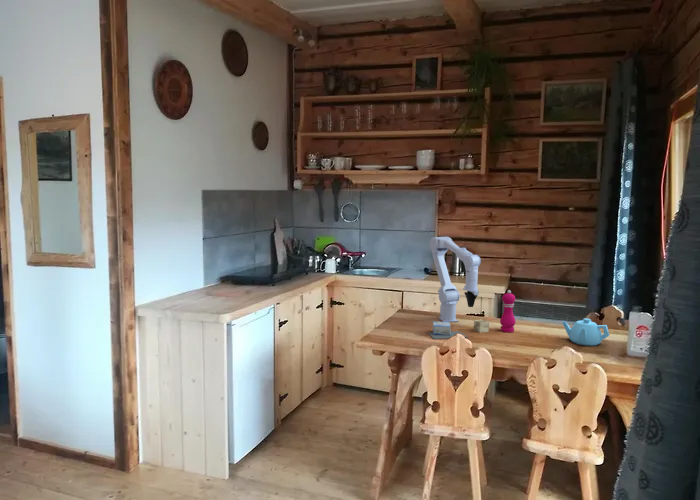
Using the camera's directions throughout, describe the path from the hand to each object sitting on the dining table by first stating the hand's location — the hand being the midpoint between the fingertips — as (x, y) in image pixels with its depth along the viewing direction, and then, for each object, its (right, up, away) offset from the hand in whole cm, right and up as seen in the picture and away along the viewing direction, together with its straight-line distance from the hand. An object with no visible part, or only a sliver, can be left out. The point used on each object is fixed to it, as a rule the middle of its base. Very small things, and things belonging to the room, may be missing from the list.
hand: (470, 306), depth 270 cm
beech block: (+4, -11, -5) cm, 13 cm away
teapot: (+47, -14, -22) cm, 54 cm away
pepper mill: (+17, -11, -4) cm, 21 cm away
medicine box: (-16, -9, -6) cm, 19 cm away
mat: (-14, -12, -14) cm, 23 cm away
